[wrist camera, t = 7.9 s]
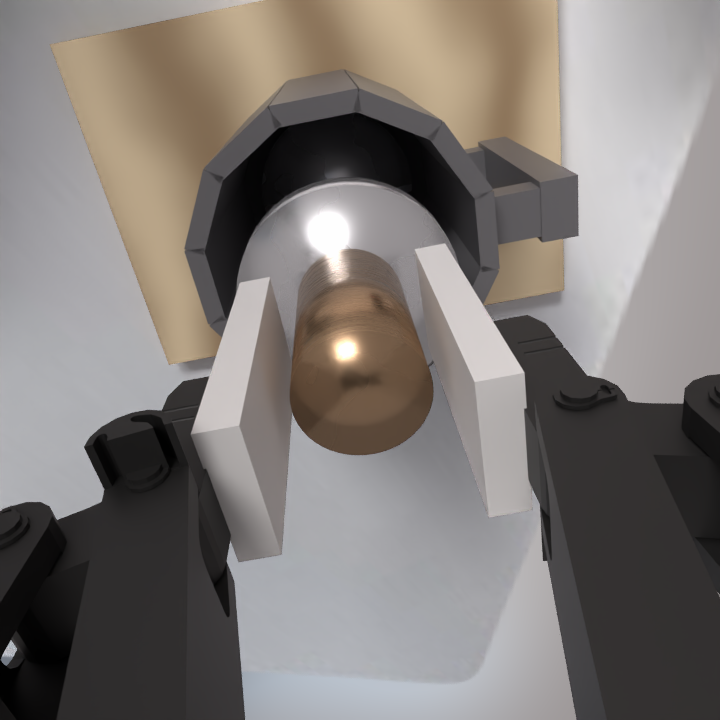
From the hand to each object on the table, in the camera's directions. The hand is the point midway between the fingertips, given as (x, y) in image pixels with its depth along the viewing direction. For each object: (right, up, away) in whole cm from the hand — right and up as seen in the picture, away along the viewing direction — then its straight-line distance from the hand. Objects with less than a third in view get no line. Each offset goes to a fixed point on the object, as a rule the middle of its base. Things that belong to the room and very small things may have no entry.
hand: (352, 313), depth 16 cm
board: (-1, +8, +15) cm, 17 cm away
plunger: (-1, +7, +13) cm, 15 cm away
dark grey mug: (0, +8, +14) cm, 16 cm away
